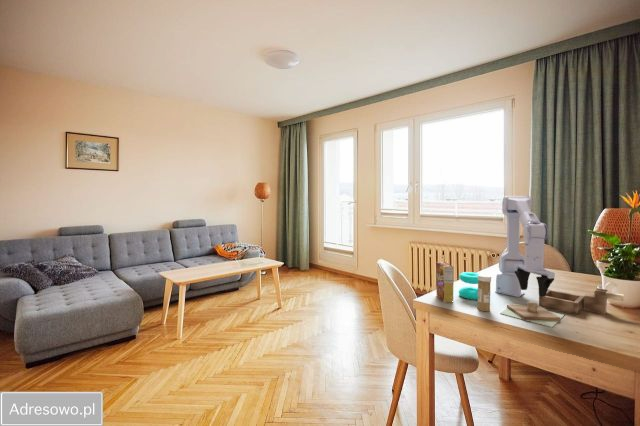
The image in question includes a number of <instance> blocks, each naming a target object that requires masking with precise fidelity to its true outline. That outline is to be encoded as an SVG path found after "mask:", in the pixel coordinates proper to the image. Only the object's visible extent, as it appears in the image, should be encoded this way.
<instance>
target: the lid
mask: <svg viewBox="0 0 640 426" xmlns="http://www.w3.org/2000/svg"><path fill="white" fill-rule="evenodd" d="M506 309H509V310H511V311H512V312H514V313H515V314H516V315H518V316H519V317H521V318H522V319H524V320H523V321H525V320H544V321H558V322H560V321H561V319H560V317H558V316H557V315H555V314H553V313H551V312H552V311H549V309H547V308H543V307H541V306H539V305H538V302H535V301H531V300H530V301H527V303H526V305H525V304H520V305H514V304H506Z"/></svg>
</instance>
